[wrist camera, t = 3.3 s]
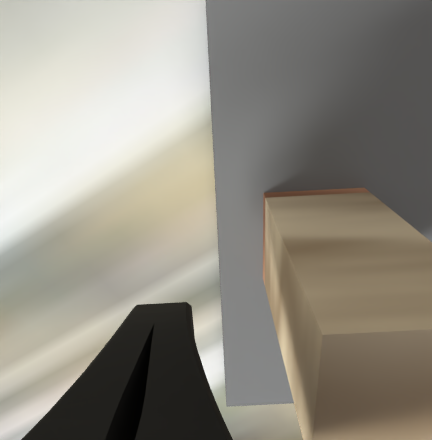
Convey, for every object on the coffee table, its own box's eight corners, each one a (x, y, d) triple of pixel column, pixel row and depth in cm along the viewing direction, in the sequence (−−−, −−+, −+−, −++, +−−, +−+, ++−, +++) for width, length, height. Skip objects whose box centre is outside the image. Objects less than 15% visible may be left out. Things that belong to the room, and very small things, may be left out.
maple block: (353, 273, 14) (479, 458, 8) (262, 278, 14) (310, 466, 8) (364, 187, 13) (532, 324, 6) (263, 192, 13) (322, 334, 6)
